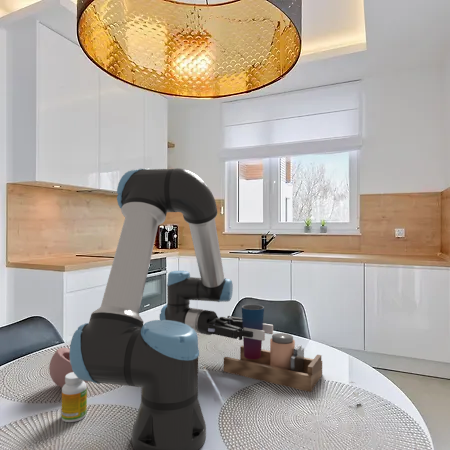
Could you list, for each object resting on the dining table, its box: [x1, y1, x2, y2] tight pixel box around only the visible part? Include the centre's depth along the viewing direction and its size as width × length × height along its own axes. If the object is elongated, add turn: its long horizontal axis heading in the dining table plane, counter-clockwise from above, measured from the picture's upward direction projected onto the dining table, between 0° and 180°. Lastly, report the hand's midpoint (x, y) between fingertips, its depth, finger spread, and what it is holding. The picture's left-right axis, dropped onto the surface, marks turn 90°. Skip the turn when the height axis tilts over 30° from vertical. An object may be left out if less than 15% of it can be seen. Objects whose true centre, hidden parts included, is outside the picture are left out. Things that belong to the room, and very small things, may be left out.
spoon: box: [348, 381, 366, 417], centre depth 89 cm, size 4×21×2 cm, turn 168°
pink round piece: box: [48, 347, 89, 389], centre depth 97 cm, size 12×12×12 cm
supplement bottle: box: [61, 372, 88, 423], centre depth 82 cm, size 5×5×10 cm
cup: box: [241, 303, 265, 359], centre depth 108 cm, size 7×7×15 cm
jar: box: [269, 332, 296, 370], centre depth 103 cm, size 7×7×11 cm
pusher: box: [291, 344, 305, 373], centre depth 101 cm, size 1×9×9 cm, turn 151°
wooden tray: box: [223, 345, 323, 393], centre depth 104 cm, size 26×12×7 cm, turn 61°
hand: (268, 332), depth 105 cm, fingers closed on cup, 6 cm apart
